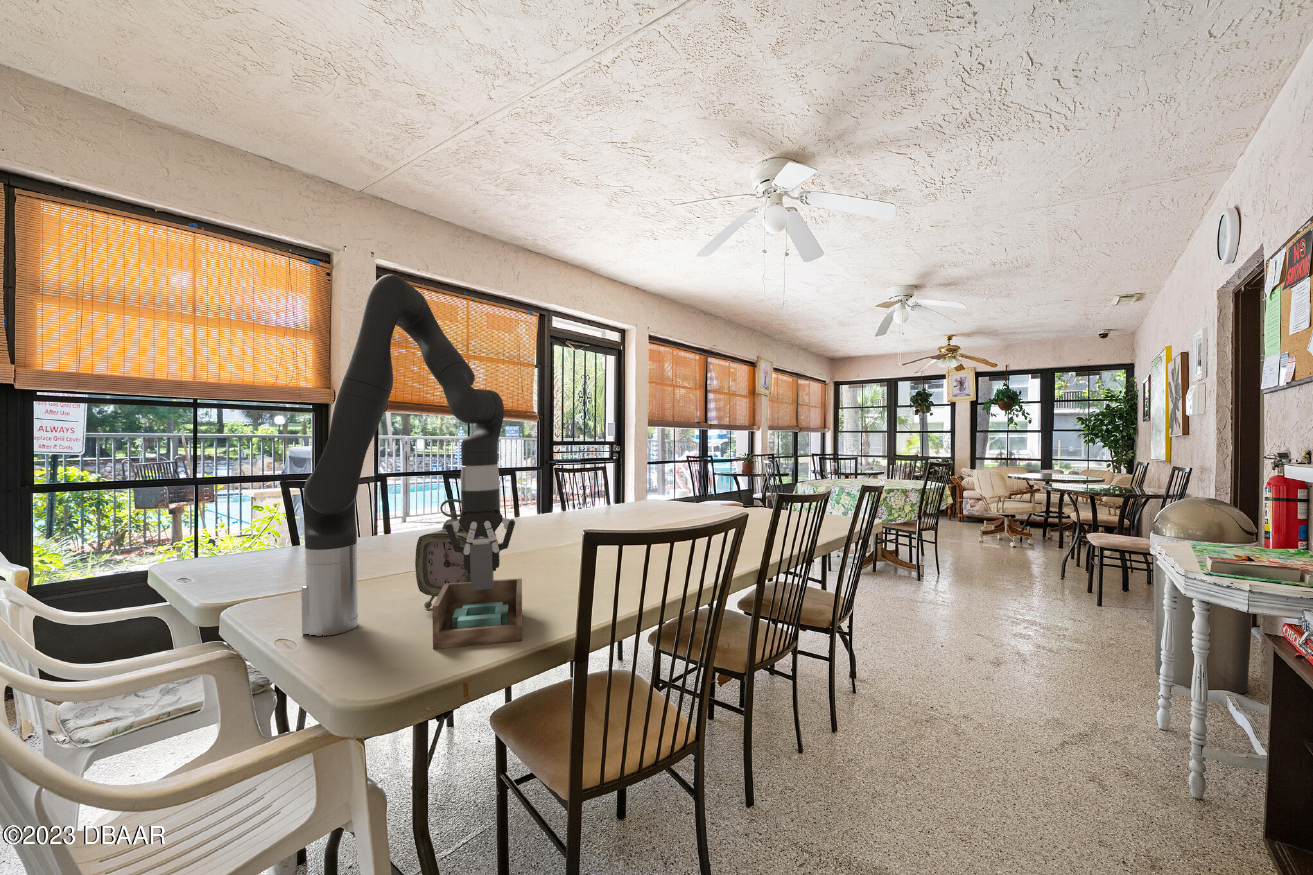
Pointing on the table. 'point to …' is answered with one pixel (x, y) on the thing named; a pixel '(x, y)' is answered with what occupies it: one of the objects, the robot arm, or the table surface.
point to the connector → (481, 564)
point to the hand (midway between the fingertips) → (482, 570)
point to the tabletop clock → (440, 559)
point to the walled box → (477, 614)
